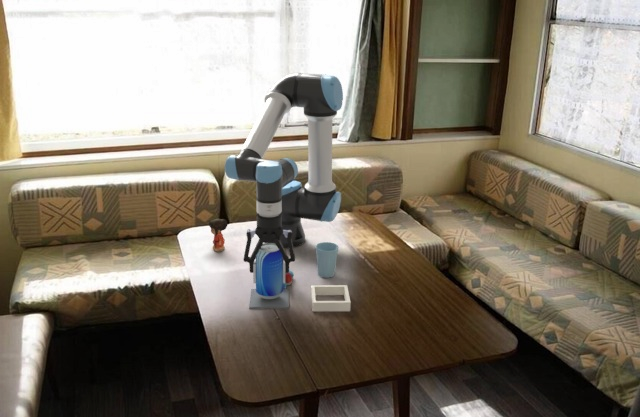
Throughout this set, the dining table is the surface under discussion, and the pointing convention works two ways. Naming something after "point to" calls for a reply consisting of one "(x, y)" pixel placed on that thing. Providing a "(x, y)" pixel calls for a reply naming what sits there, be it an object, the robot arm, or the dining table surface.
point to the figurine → (218, 233)
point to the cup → (326, 258)
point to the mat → (269, 301)
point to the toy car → (288, 278)
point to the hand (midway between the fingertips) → (269, 281)
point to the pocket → (330, 304)
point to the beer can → (269, 271)
